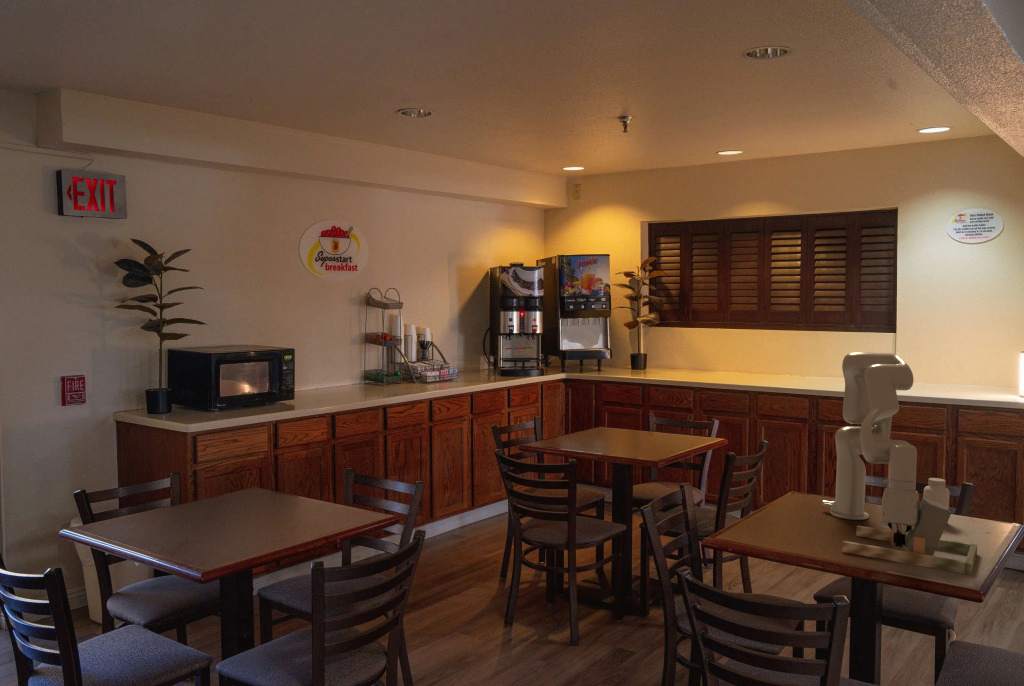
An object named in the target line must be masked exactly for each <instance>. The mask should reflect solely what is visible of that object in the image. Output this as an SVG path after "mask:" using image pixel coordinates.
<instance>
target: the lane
mask: <svg viewBox="0 0 1024 686" xmlns="http://www.w3.org/2000/svg"><path fill="white" fill-rule="evenodd" d="M855 530H856V531H855V536H856V537H863V538H868V539H872V540H873V539H874V540H880V541H885V542H891V530H887V529H883V528H877V527H870V526H863V525H856V529H855ZM907 533H908V532H907ZM907 533H906V534H905V537H906V535H907ZM841 546H842V547H841V548H842V549H841V551H842V553H846V554H853V555H858V556H862V555H863V557H868V558H874V559H875V558H876V559H879V558H880V560H884V561H885V560H886V561H892V562H897V563H902V564H909V565H912V566H913V565H914V566H919V567H925V568H930V569H937V570H940V571H941V570H942V571H947V572H952V573H953V572H954V573H958V574H965V575H970V576H971V575H972V574H973V570H974V567H975V562H976V559H977V555H978V544H975V543H970V542H963V541H957V540H951V539H950V540H949V539H945V538H940V541H939V543H938V545H937V548H936V550H940V551H946V552H952V553H959V554H964V555H966V559H965V560H958V559H952V558H947V557H941V556H935V555H933V556H930V555H924V554H918V553H912V552H910V551H908V550H907V551H905V550H900V549H895V548H890V547H889V548H887V547H882V546H878V545H877V546H875V545H870V544H865V543H858V542H853V541H852V542H851V541H848V540H843V541H842V545H841Z"/></svg>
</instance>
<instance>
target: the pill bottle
mask: <svg viewBox="0 0 1024 686" xmlns="http://www.w3.org/2000/svg"><path fill="white" fill-rule="evenodd" d="M946 482H947V480H946V479H943V478H937V477H929V478H928V481H927V483H928V485H926V486H925V487H924V488H923V496H922V498H926V499H929V500H931V501H934V502H936V503H939V504H942V505H944V506H945V507H946V508H948V510H949V509H950V494H951V493H950V489H948V488H947V486H946V485H947V484H946ZM949 511H950V510H949ZM948 522H949V521H948ZM948 522H947V524H948Z"/></svg>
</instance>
